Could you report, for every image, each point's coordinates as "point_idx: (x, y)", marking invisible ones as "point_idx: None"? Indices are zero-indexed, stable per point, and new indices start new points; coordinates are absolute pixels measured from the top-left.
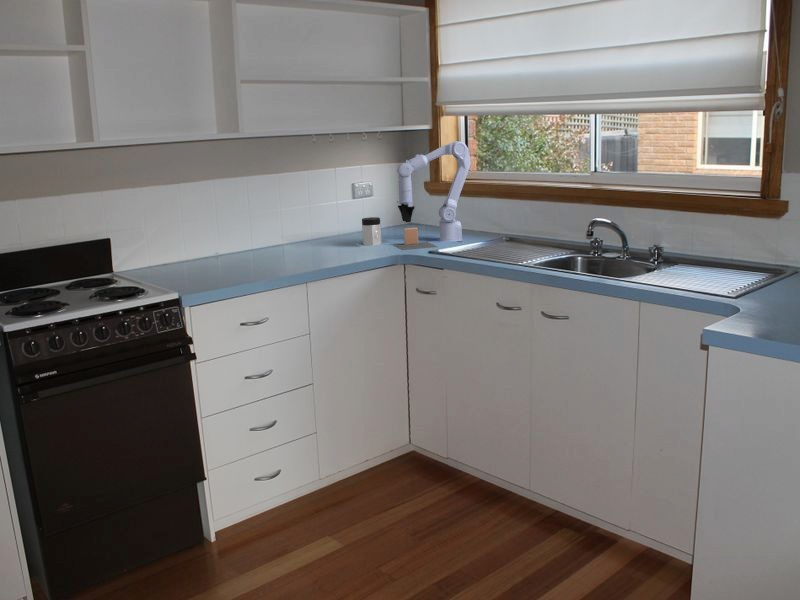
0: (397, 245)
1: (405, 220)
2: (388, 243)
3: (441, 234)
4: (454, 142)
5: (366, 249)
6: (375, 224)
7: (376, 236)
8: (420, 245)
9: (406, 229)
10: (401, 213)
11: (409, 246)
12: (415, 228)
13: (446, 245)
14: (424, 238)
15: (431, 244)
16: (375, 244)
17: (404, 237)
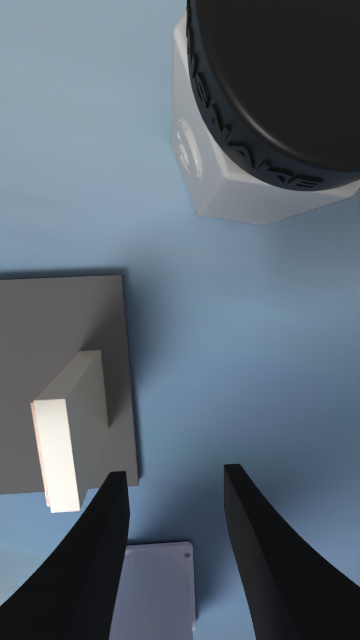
0: (80, 302)
1: (109, 483)
2: (256, 280)
3: (124, 596)
4: None
5: (69, 65)
6: (191, 87)
7: (182, 154)
8: (17, 427)
9: (33, 415)
10: (255, 534)
11: (5, 361)
12: (50, 493)
13: (14, 545)
14: (316, 503)
15: (28, 486)
16: (179, 162)
17: (71, 368)
